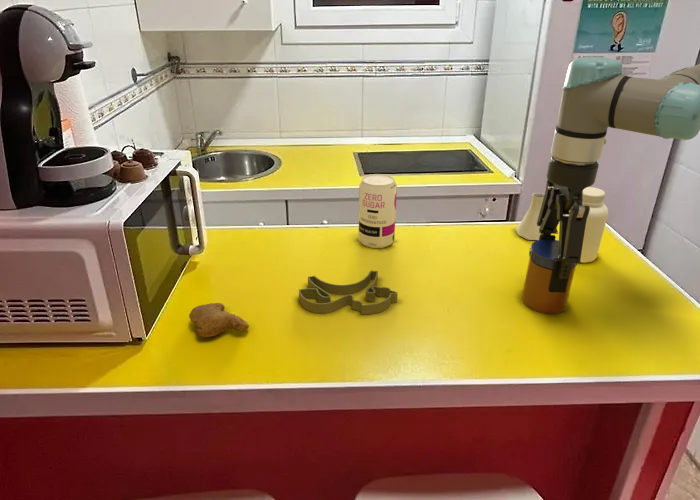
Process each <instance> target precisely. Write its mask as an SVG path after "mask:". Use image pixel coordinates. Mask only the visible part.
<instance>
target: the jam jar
mask: <svg viewBox="0 0 700 500" xmlns="http://www.w3.org/2000/svg"><path fill="white" fill-rule="evenodd" d="M528 257H529V256H528ZM576 268H577V266H575V267H574V268H572V269H571V270H570V274H569V278H568V282H567V287H566V291H565V293H563V292H549V290H548V289H549V284H550V280H551V275H552V271H553V269H549V268H545V267H542V266H540V265H538V264H536V263H534V262H533V261H532V260H531V259H530V257H529V258H528V263H527V267H526V273H525V278H524V282H523V283H524V284H523V289H522V294H521V301H522V303H523V304H524V305H525V306H526V307H528V308H529V309H531V310H532V311H535V312H538V313H541V314H542V313H543V314H549V315H554V314H559V313H562V312H564V311H565V310H566V309H567V305H568V302H569V298H570V293H571V289H572V285H573V281H574V277H575V274H576V273H575V272H576Z"/></svg>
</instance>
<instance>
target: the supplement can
mask: <svg viewBox="0 0 700 500" xmlns="http://www.w3.org/2000/svg"><path fill="white" fill-rule="evenodd" d="M397 196H398V185H397V183H396V181H395V178H394V177H393V176H391V175H389V174H388V175H387V174H383V173H382V174H381V173H373V174H368V175H364V176H363V177H362V179H361V181H360V183H359V186H358V235H357V236H358V237H357V238H358V240H359V242H360V243H361V244H362V245H363V246H365V247H367V248H372V249H383V248H386V247H387V248H388V247H389V246H390V245H392V244H393V243H394V242H395V236H396V235H395V233H396V215H397V214H396V213H397Z"/></svg>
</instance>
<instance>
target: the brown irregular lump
mask: <svg viewBox="0 0 700 500" xmlns="http://www.w3.org/2000/svg"><path fill="white" fill-rule="evenodd" d="M225 309H226V307H225V305H224V304H223V303H221V302H210V303H206V304H201V305H200V304H199V305H197V306H194V307H193V308H192V309H191V311H190V313H189V314H188V317H189V319H190V321H191V322H192V323H193V324H194V325H195V326H196V328H195V331H196V333H197V335H198V336H199V337H201V338H210V337H215V336H217V335H219V334H221V333H223V332H225V331H226V330H231V329H234V330H236V331H241V332H242V331H246V330H248V329H249V328H250V325H249V324H248V322H247V321H246V320H244V319H243V318H242V317H241V316H239V315H236V314H233V313H230V311H229V312H228V311H224V310H225Z"/></svg>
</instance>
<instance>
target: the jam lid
mask: <svg viewBox="0 0 700 500" xmlns="http://www.w3.org/2000/svg"><path fill="white" fill-rule="evenodd" d="M558 250H559V239H555V240H552V239H543V240H534V241H533V242H532V243H531V244H530V247H529V252H528V257H530V259H531V260H532V261H533V262H534V263H536V264H538V265H540V266H542V267H545V268H549V269H553V266H554V258H558ZM575 266H576V267H577V266H578V264H577V263H572V266H571V269H572V268H574V267H575Z"/></svg>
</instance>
